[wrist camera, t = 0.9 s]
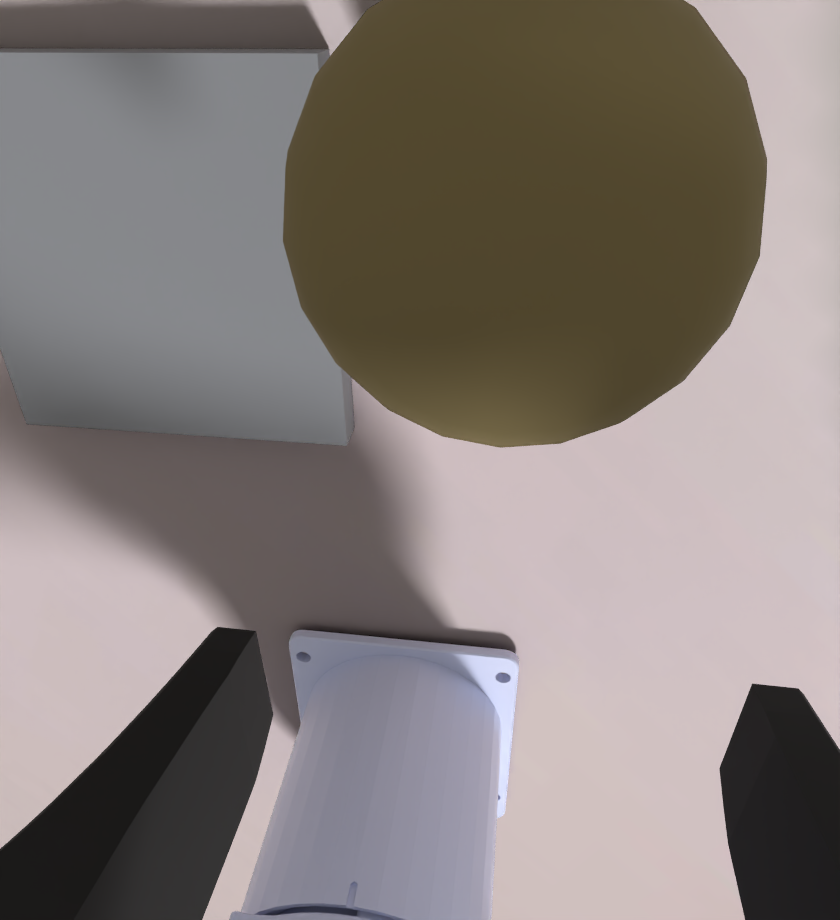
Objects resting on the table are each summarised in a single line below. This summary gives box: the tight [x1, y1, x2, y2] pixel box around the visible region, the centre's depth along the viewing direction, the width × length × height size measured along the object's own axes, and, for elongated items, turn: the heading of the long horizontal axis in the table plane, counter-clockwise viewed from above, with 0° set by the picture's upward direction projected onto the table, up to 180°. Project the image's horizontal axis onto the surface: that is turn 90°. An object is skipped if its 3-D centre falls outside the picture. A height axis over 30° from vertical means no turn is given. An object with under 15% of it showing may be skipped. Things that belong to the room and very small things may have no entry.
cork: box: [283, 0, 767, 447], centre depth 11 cm, size 6×6×11 cm
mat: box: [0, 48, 355, 446], centre depth 19 cm, size 10×10×1 cm
